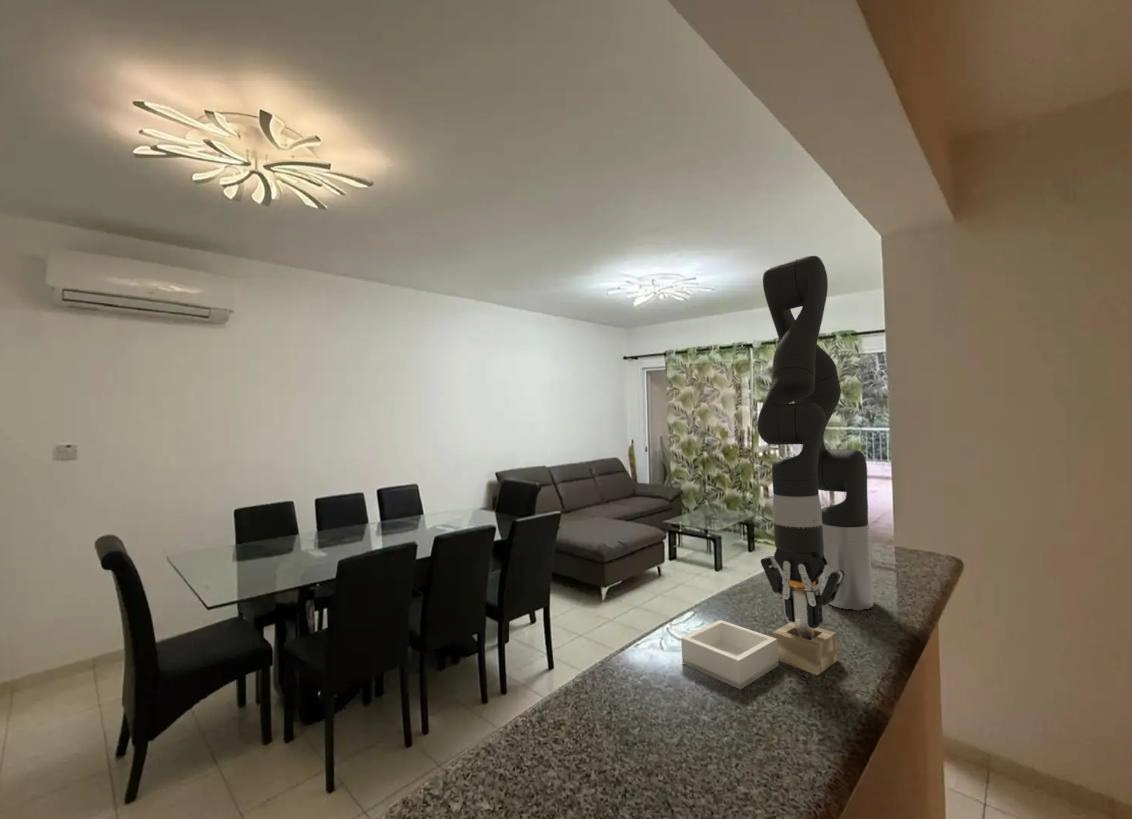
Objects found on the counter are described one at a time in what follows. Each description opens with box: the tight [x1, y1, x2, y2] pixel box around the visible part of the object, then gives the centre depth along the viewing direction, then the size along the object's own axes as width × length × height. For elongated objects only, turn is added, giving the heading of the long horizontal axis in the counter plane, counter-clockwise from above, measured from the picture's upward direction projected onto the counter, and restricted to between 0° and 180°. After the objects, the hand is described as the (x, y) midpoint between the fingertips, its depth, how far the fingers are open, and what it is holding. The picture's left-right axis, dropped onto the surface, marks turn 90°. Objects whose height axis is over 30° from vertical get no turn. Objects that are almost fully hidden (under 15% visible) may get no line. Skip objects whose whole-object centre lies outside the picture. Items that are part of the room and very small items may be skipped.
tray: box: [680, 619, 780, 691], centre depth 81 cm, size 11×11×4 cm
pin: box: [788, 579, 816, 640], centre depth 81 cm, size 4×4×13 cm
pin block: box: [772, 622, 839, 676], centre depth 81 cm, size 7×7×4 cm
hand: (803, 623), depth 81 cm, fingers closed on pin, 3 cm apart
